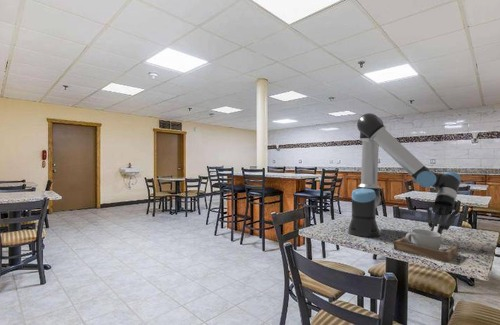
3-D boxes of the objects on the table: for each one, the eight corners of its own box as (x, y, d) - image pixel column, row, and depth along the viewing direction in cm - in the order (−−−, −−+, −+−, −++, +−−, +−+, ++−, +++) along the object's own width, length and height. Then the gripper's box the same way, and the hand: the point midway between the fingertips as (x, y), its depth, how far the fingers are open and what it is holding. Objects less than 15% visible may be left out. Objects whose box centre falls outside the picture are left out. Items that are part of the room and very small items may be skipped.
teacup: (432, 247, 119) (432, 229, 119) (446, 255, 108) (446, 235, 108) (399, 245, 121) (399, 228, 121) (410, 253, 110) (410, 234, 110)
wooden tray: (406, 243, 124) (406, 236, 124) (457, 254, 109) (457, 246, 109) (393, 249, 116) (393, 241, 116) (447, 262, 100) (447, 253, 100)
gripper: (464, 205, 124) (453, 248, 114) (431, 202, 134) (419, 241, 124) (460, 195, 121) (449, 238, 111) (427, 192, 131) (415, 232, 121)
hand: (433, 240), depth 117 cm, fingers closed
